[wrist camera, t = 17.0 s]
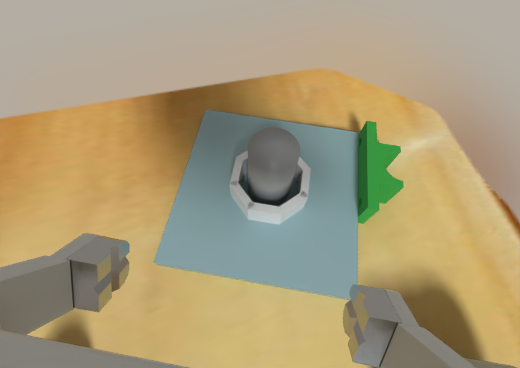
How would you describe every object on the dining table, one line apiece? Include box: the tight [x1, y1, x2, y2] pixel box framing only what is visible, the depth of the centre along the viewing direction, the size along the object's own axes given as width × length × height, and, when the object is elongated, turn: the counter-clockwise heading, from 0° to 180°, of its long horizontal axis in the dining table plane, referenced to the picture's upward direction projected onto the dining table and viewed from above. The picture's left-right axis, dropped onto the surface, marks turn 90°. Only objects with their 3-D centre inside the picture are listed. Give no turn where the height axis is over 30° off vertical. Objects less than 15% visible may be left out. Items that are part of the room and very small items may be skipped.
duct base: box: [154, 110, 358, 300], centre depth 30 cm, size 20×20×4 cm
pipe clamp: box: [358, 121, 404, 223], centre depth 32 cm, size 11×4×5 cm, turn 170°
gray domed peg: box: [248, 128, 300, 206], centre depth 27 cm, size 5×5×8 cm
